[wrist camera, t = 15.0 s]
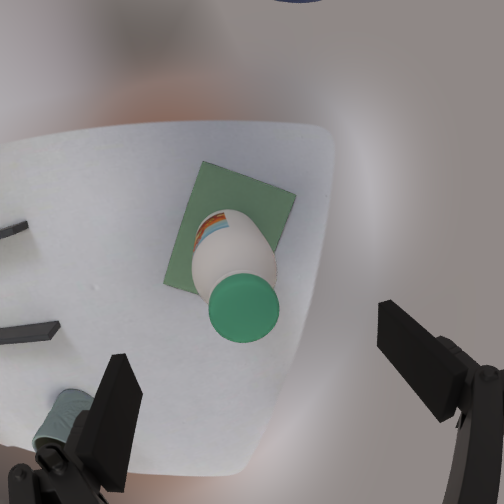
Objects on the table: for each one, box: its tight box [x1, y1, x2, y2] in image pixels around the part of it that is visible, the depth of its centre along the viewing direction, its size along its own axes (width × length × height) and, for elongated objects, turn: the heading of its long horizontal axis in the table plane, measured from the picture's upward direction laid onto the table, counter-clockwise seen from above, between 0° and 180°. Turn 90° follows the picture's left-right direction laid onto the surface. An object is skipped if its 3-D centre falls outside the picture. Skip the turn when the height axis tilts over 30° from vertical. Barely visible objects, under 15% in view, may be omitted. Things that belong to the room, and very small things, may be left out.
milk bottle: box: [192, 209, 279, 343], centre depth 30 cm, size 8×8×20 cm
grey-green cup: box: [32, 389, 94, 452], centre depth 38 cm, size 10×10×12 cm
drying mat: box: [163, 161, 296, 295], centre depth 39 cm, size 16×12×1 cm
